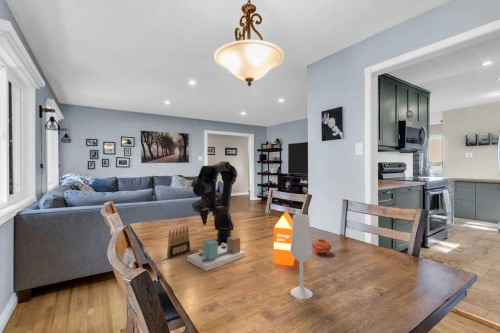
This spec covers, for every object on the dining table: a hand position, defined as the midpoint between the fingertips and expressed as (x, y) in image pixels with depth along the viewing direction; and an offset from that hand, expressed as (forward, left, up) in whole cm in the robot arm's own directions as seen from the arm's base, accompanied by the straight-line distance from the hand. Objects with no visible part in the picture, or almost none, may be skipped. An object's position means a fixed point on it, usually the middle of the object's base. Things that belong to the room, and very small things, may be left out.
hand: (210, 226), depth 109 cm
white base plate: (+2, +8, -12) cm, 14 cm away
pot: (-35, +37, -12) cm, 52 cm away
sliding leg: (+8, +8, -9) cm, 14 cm away
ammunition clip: (+11, -8, -12) cm, 19 cm away
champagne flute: (0, +49, -12) cm, 50 cm away
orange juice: (-17, +30, -12) cm, 36 cm away
